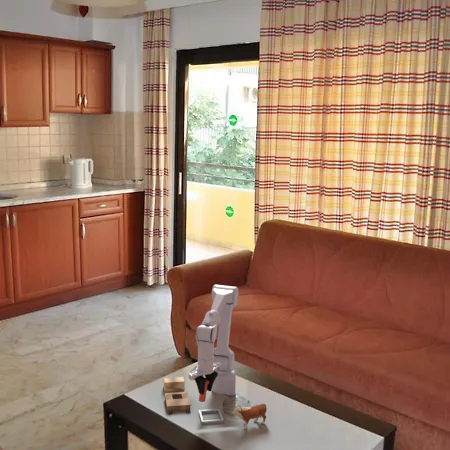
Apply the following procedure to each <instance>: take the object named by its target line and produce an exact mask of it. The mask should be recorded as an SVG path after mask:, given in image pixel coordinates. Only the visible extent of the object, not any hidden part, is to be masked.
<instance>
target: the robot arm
mask: <svg viewBox="0 0 450 450" xmlns="http://www.w3.org/2000/svg"><path fill="white" fill-rule="evenodd" d="M239 292H240V291H239V288H238V287H237V286H230V285H222V284H216V283H215V284H214V285H213V286H212V289H211V298H212V299H211V300H212V305H211V307H210V310H208V311H207V312H206V313H205V316H204V317H203V318H204V319H202V323H201V324H200V325H198V326H197V328H196V331H195V340H196V346H197V365H196V366H197V368H196V369H195V370H194V371H193V372H191V373H190V372H189V373H188V379H189V380H190V381H194V382H195V383H196V386H197V387H196V388H197V391H198V393H199V395H200V394H202V395H203V394H204V390H205V383H206V380H207V379H208V380H209V384H208V386H207V391H208V392H212V393H215V394H218V395H224V394H225V395H226V397H227V396H236V383H237V382H236V377H237V376H236V371H235V369H234V368H235V353H234V351H233V350H231V348H230V347H229V344H230V335H231V334H230V333H231V325H232V314H233V309H234V308H235V307H237V306H238V303H239V294H240V293H239ZM216 338H217V342H216V347H215V344H214V343H215V341H216ZM203 375H205V376H203Z"/></svg>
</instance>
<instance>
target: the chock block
mask: <svg viewBox="0 0 450 450" xmlns="http://www.w3.org/2000/svg"><path fill="white" fill-rule="evenodd" d="M163 389H164V390H163V391H164V392H165V393H168V392H177V391H178V392H182V391H185V379H184V376H175V377H163Z"/></svg>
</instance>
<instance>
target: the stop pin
mask: <svg viewBox="0 0 450 450" xmlns="http://www.w3.org/2000/svg"><path fill="white" fill-rule="evenodd" d="M208 384H209V380H208V379H207V380H206V383H205V390H204V394H203V395H202V394H200V393H199V396H198V401H199V402H200V403H205V402H206V398H207V391H208V390H207V386H208Z"/></svg>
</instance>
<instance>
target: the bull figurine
mask: <svg viewBox="0 0 450 450" xmlns="http://www.w3.org/2000/svg"><path fill="white" fill-rule="evenodd" d="M266 413H267V405H266V403H261V404H255V405H251V406H246V407H245V406H243V407H241V405H238V406H236V407H235V409H234V410H233V411H232V415H233V416H234V415H235V416H237V417H239V418H240V420H241V421H242V422H244V423H243V426H244V427H243V430H245V431H246V430H247V429H248V424H249V422H250V421H251V420H253V423H257V421H259V419H261V418H262V419H263V420H262V422H261V425H265V423H266V418H267V416H266Z"/></svg>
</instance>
